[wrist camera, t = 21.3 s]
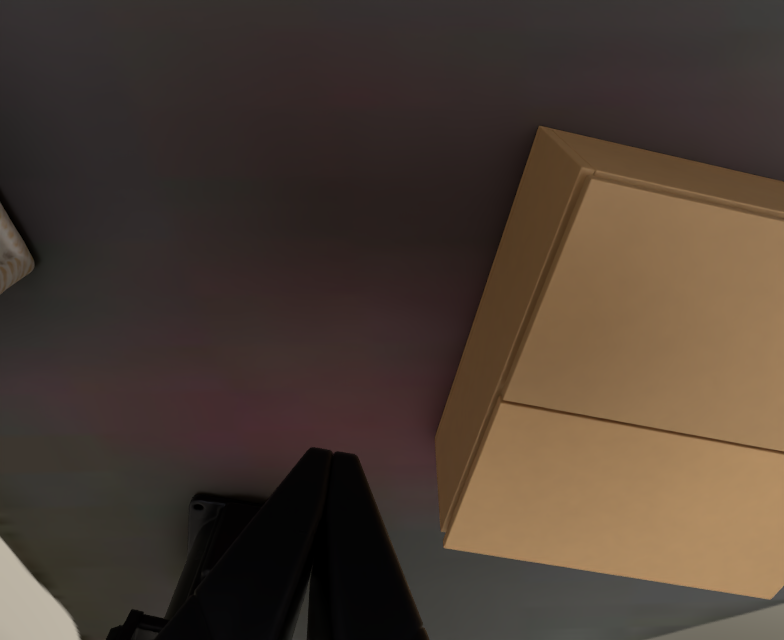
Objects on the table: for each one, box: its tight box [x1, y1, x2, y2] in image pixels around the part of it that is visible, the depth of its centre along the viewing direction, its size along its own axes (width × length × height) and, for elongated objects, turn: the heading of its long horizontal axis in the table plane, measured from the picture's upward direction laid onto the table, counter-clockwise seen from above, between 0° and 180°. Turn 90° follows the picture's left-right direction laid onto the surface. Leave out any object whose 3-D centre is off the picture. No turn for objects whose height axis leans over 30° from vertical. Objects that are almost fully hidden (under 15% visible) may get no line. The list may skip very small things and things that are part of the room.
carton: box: [435, 126, 784, 532], centre depth 21 cm, size 15×14×6 cm
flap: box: [443, 396, 784, 599], centre depth 20 cm, size 7×14×1 cm, turn 78°
